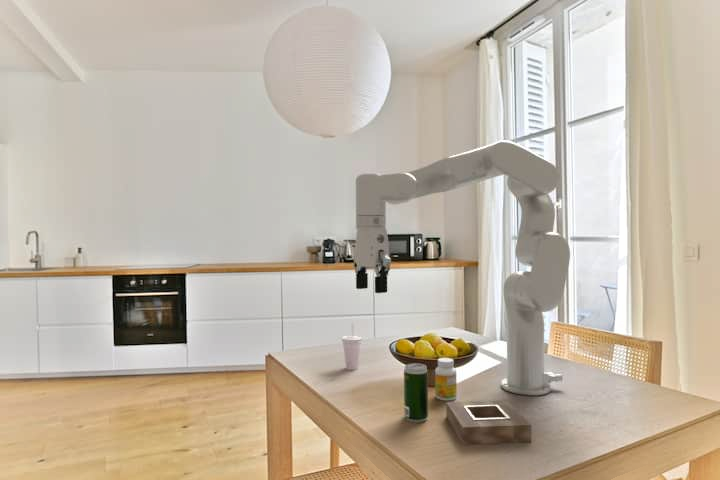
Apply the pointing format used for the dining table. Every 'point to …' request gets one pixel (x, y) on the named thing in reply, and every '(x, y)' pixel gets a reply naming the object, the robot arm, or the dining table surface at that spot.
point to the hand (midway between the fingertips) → (371, 290)
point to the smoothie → (352, 350)
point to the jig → (487, 423)
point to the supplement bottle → (445, 380)
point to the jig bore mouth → (486, 418)
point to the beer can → (416, 392)
